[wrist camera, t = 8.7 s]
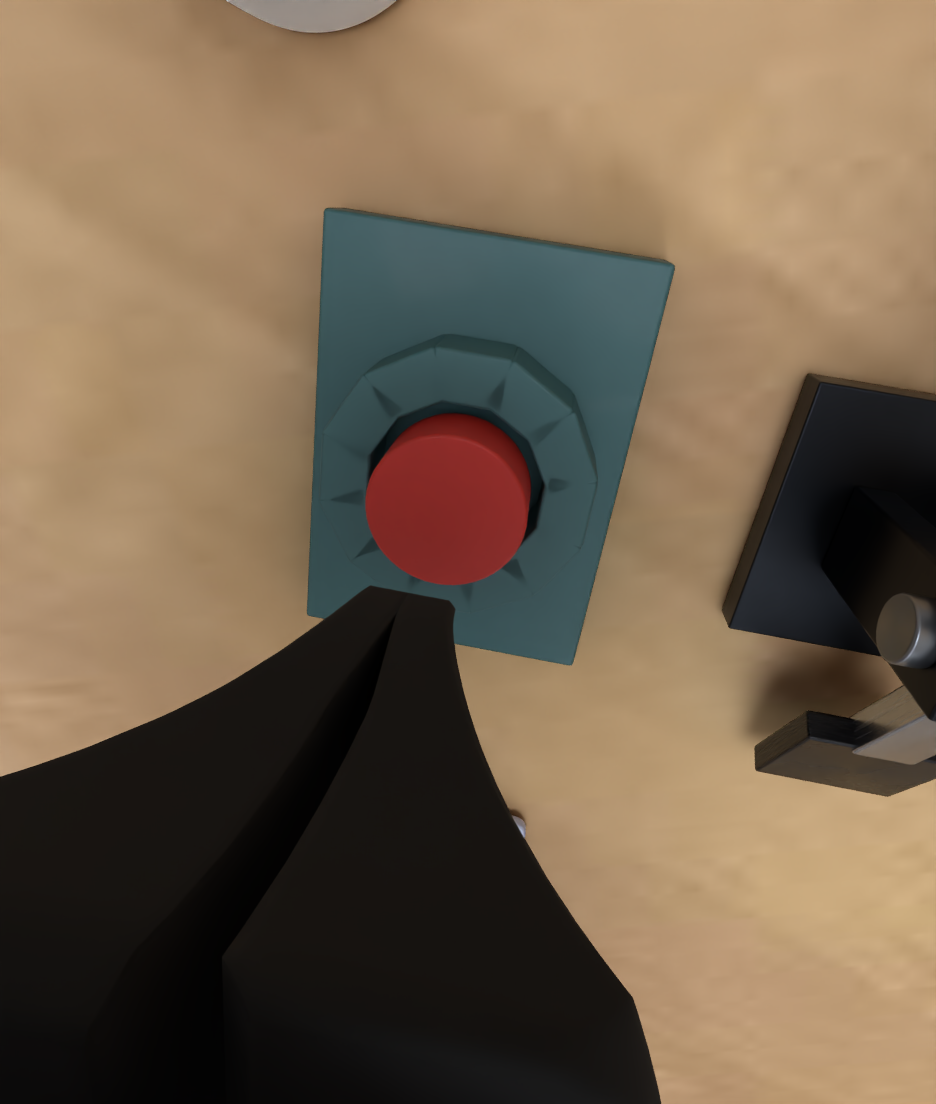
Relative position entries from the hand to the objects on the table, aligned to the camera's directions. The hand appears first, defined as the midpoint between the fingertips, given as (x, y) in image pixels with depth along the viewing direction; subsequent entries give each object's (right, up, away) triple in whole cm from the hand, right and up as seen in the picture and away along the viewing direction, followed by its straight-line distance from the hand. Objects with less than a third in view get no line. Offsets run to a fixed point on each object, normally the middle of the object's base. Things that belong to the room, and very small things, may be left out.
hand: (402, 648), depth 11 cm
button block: (+1, +4, +9) cm, 10 cm away
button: (+1, +3, +6) cm, 7 cm away
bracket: (+13, +2, +8) cm, 15 cm away
